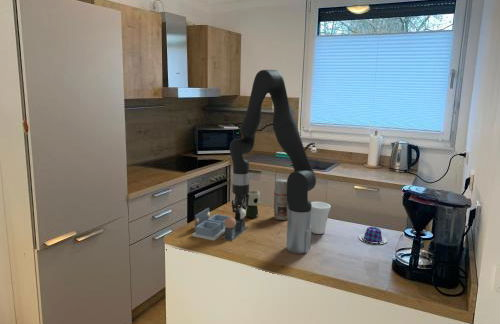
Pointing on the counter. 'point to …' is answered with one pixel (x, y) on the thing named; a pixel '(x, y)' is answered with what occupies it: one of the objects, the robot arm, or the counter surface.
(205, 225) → the rack
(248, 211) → the character mug
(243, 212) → the cream ball
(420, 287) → the counter surface
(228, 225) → the terracotta ball
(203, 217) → the card
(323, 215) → the cup
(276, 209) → the spray can
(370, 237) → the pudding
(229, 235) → the post stand
